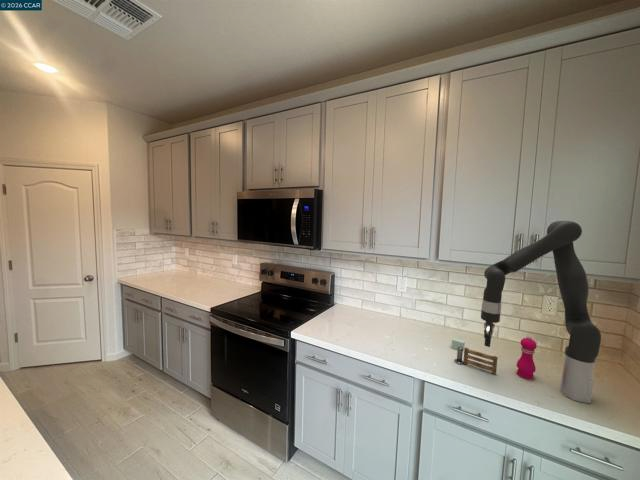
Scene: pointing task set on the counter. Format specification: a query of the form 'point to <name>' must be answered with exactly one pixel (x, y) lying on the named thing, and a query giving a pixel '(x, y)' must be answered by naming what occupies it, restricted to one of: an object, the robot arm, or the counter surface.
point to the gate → (480, 360)
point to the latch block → (457, 343)
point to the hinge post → (459, 356)
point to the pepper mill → (527, 358)
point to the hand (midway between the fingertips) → (487, 345)
